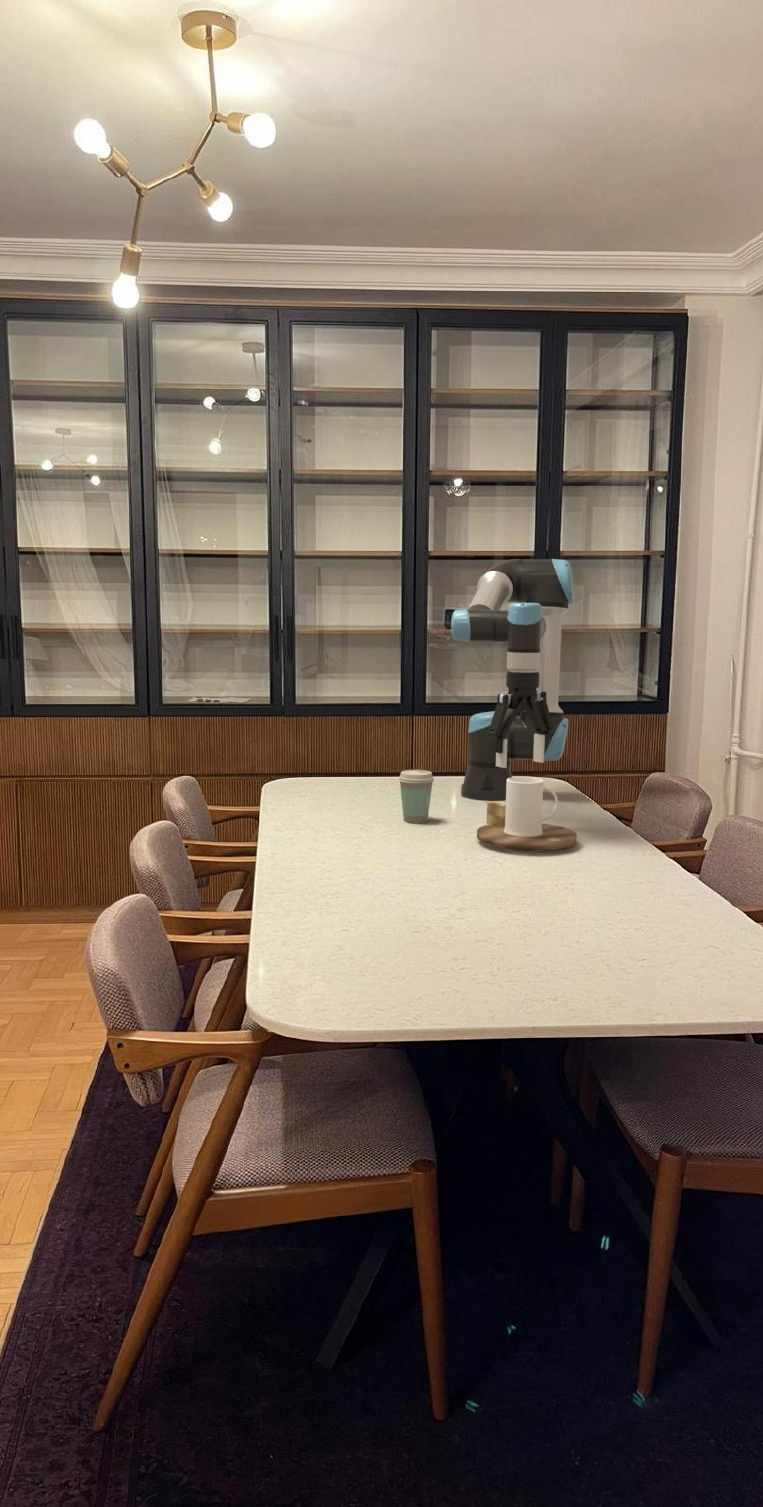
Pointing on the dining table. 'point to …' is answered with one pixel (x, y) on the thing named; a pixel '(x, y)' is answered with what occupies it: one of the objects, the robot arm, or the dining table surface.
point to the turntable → (548, 840)
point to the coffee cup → (416, 794)
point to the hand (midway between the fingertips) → (520, 764)
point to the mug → (525, 806)
